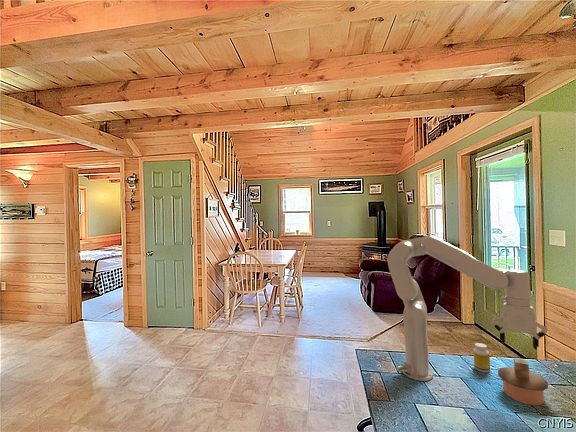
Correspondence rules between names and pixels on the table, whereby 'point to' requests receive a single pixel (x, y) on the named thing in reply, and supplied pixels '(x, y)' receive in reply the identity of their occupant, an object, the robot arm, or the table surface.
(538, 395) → the terracotta bowl
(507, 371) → the walnut lid
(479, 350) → the pill bottle
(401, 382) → the table surface
